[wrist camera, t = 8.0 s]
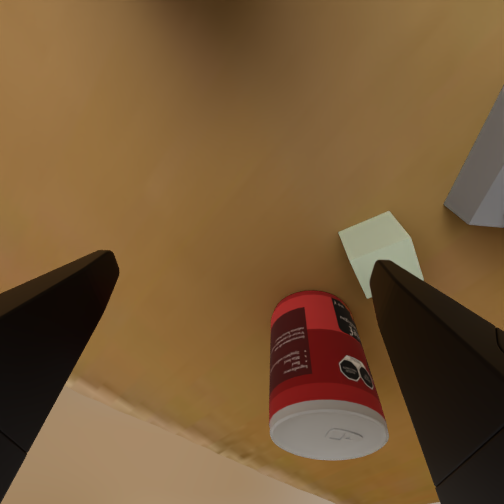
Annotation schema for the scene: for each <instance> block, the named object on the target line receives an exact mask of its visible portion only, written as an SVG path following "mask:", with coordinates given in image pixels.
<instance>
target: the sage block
mask: <svg viewBox="0 0 504 504" xmlns="http://www.w3.org/2000/svg"><path fill="white" fill-rule="evenodd" d="M338 233H339V236H340V238H341V241H342V243H343V246H344V248H345V251H346V253H347V256H348V259H349V261H350V263H351V265H352V267H353V270H354V272H355V274H356V276H357V278H358V280H359V282H360V285H361V287H362V289H363V291H364V293H365V295H366V297H367V299H368V298H371V297H372V294H371V290H370V284H369V281H370V277H371V273H372V270H373V267H374V264H375V262H376V261H377V260H391V261H392V262H394V263H396V264H397V265H399V266H400V267H402V268H404V269H405V270H407V271H408V272H410V273H412V274H413V275H415V276H416V277H418V278H419V279H421V280H424V279H423V276H422V272H421V269H420V266H419V262H418V259H417V256H416V253H415V249H414V246H413V243H412V240H411V237H410V236H409V234H408V233H407V232H406V231H405V230H404V228H403V227H402V226H401V225H400V223H399V222H398V221H397V220H396V219H395V217H394V216H393V215H392V214H391V212H390V211H387V212H385V213H383V214H380V215H378V216H376V217H373V218H371V219H368V220H366V221H364V222H361V223H359V224H356V225H354V226H352V227H349V228H347V229H345V230H342V231H340V232H338Z"/></svg>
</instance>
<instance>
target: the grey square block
mask: <svg viewBox="0 0 504 504" xmlns="http://www.w3.org/2000/svg"><path fill="white" fill-rule="evenodd" d="M444 205H445V206H446V207H447V208H448V209H450V210H451V211H452V212H453V213H455V214H456V215H457V216H458V217H460V218H461V219H462V220H463V221H465V222H466V223H467V224H468V225H479V226H490V227H501V228H504V86H503V88H502V89H501V91H500V93H499V95H498V97H497V99H496V101H495V103H494V105H493V107H492V109H491V111H490V113H489V115H488V117H487V119H486V121H485V123H484V125H483V127H482V129H481V131H480V133H479V135H478V137H477V139H476V141H475V143H474V145H473V147H472V149H471V151H470V153H469V155H468V157H467V159H466V161H465V163H464V165H463V167H462V169H461V171H460V173H459V175H458V177H457V178H456V180H455V182H454V184H453V186H452V188H451V190H450V192H449V194H448V196H447V198H446V200H445V202H444Z"/></svg>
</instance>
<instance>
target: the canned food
mask: <svg viewBox="0 0 504 504" xmlns="http://www.w3.org/2000/svg"><path fill="white" fill-rule="evenodd" d="M269 426H270V436H271V439H272V440H273V442H274V443H275V444H276V445H277V446H279V447H280V448H282V449H284V450H285V451H287V452H290V453H292V454H295V455H298V456H302V457H306V458H311V459H319V460H346V459H353V458H358V457H362V456H365V455H368V454H371V453H373V452H375V451H377V450H379V449H380V448H382V447H383V446H384V445H385V444H386V442H387V441H388V438H389V434H388V430H387V424H386V420H385V417H384V414H383V411H382V407H381V403H380V400H379V397H378V394H377V391H376V388H375V385H374V381H373V378H372V375H371V372H370V369H369V366H368V363H367V360H366V357H365V354H364V350H363V347H362V344H361V341H360V338H359V335H358V332H357V329H356V326H355V322H354V319H353V316H352V313H351V312H350V310H349V308H348V307H347V306H346V305H345V303H344V302H343V301H342V300H341V299H339V298H338V297H336V296H334V295H332V294H330V293H326V292H322V291H313V290H312V291H302V292H297V293H294V294H291V295H289V296H287V297H286V298H284V299H283V300H282V301H280V302H279V303H278V305H277V306H276V308H275V310H274V313H273V315H272V318H271V347H270V393H269Z"/></svg>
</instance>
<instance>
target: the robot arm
mask: <svg viewBox="0 0 504 504" xmlns="http://www.w3.org/2000/svg"><path fill="white" fill-rule="evenodd" d="M118 277H119V267H118V264H117V261H116V259H115V256H114V253H113V252H112V251H110V250H98V251H96V252H93V253H91V254H89V255H87V256H84V257H82V258H80V259H78V260H75V261H73V262H71V263H69V264H66V265H64V266H62V267H60V268H57V269H55V270H53V271H51V272H48V273H46V274H44V275H42V276H39V277H37V278H35V279H33V280H30V281H28V282H26V283H24V284H21V285H19V286H17V287H15V288H12V289H10V290H8V291H6V292H3V293H1V294H0V503H1V501H2V500H3V498H4V496H5V494H6V492H7V490H8V489H9V487H10V485H11V483H12V481H13V479H14V478H15V476H16V474H17V472H18V470H19V468H20V467H21V465H22V463H23V461H24V459H25V457H26V455H27V452H28V451H29V449H30V448H31V446H32V444H33V442H34V440H35V438H36V437H37V435H38V433H39V431H40V429H41V427H42V426H43V424H44V422H45V420H46V418H47V416H48V414H49V413H50V411H51V409H52V407H53V405H54V403H55V402H56V400H57V398H58V396H59V394H60V392H61V391H62V389H63V387H64V385H65V383H66V381H67V380H68V378H69V376H70V374H71V372H72V370H73V368H74V367H75V365H76V363H77V361H78V359H79V357H80V356H81V354H82V352H83V350H84V348H85V346H86V344H87V343H88V341H89V339H90V337H91V335H92V333H93V332H94V330H95V328H96V326H97V324H98V322H99V321H100V319H101V317H102V315H103V313H104V311H105V308H106V306H107V304H108V301H109V299H110V296H111V294H112V291H113V289H114V287H115V284H116V282H117V279H118ZM369 284H370V290H371V294H372V299H373V304H374V308H375V313H376V317H377V321H378V325H379V329H380V332H381V335H382V337H383V340H384V343H385V346H386V349H387V352H388V354H389V357H390V360H391V363H392V366H393V369H394V372H395V374H396V377H397V380H398V383H399V386H400V389H401V391H402V394H403V397H404V400H405V403H406V406H407V408H408V411H409V414H410V417H411V420H412V423H413V426H414V428H415V431H416V434H417V437H418V440H419V443H420V445H421V448H422V451H423V454H424V457H425V460H426V463H427V465H428V468H429V471H430V474H431V477H432V480H433V482H434V485H435V486H436V492H437V494H438V497H439V500H440V503H441V504H504V331H502V330H501V329H499V328H495V326H494V325H493V324H491V323H490V322H488V321H486V320H485V319H483V318H482V317H480V316H478V315H477V314H475V313H474V312H472V311H470V310H469V309H467V308H466V307H464V306H462V305H461V304H459V303H458V302H456V301H455V300H453V299H451V298H450V297H448V296H447V295H445V294H443V293H442V292H440V291H439V290H437V289H435V288H434V287H432V286H431V285H429V284H427V283H426V282H424V281H423V280H421V279H419V278H418V277H416V276H415V275H413V274H412V273H410V272H408V271H407V270H405V269H404V268H402V267H400V266H399V265H397V264H396V263H394V262H392V261H391V260H377V261H376V262H375V264H374V267H373V270H372V273H371V277H370V281H369Z"/></svg>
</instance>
